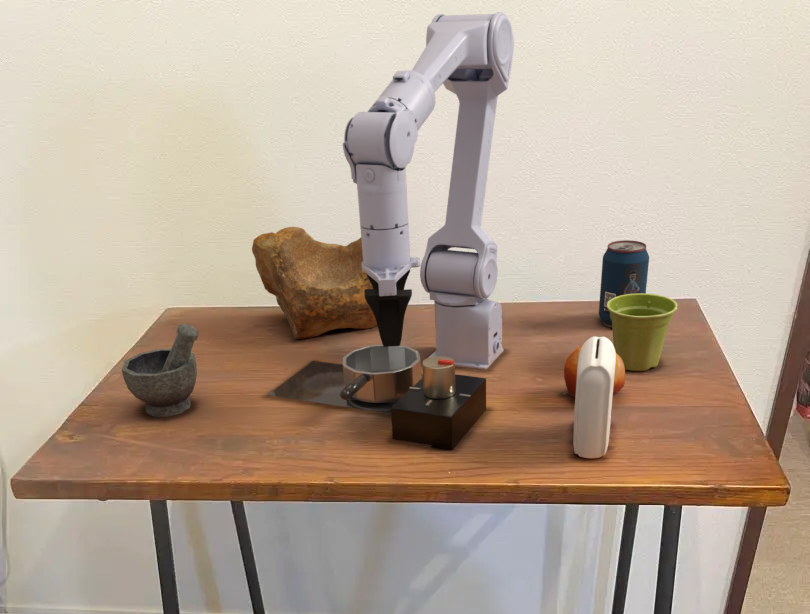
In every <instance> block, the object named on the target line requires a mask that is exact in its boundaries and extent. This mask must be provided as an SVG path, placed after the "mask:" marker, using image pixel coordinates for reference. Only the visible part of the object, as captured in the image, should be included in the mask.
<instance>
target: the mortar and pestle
mask: <svg viewBox="0 0 810 614" xmlns="http://www.w3.org/2000/svg"><path fill="white" fill-rule="evenodd" d="M198 338H199V330H198V329H197V328H196V327H194V326H193V325H191V324H189V323H188V324H187V323H182V324H181V323H180V324H178V326H177V328H176V336H175V339H174V341H173V344H172V346H171V348H164V347H163V348H157V349H151V350H148V351H143V352H140V353H137V354H135V355H133V356H131V357H130V358H128V359H126V360H124V361H123V365H122V367H121V374H122V377H123V380H124V383H125V385H126V387H127V390H128V391H129V392H130V393H131V394H132V395H133V396H134V398H136V399H138V400H139V401H141V402H143V403H145V413H146V414H149V415H150V416H152V417H163V418H164V417H172V416H175V415H179V414H182V413H184V412H185V411H187V410H188V409H190V408H191V404H192V401H191V398H190V395H191V394H192V393H193V391H194V388H195V385H196V381H197V375H198V370H197V369H198V368H197V366H198V365H197V359H196V354H195V353H194V352H192V350H193V347H194V343H195V341H197V339H198Z"/></svg>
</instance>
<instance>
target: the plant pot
mask: <svg viewBox="0 0 810 614" xmlns="http://www.w3.org/2000/svg"><path fill="white" fill-rule="evenodd" d="M607 309H608V310H609V311H610V318H611V320H612V327H611V328H612V329H611V330H612V344H613V346H614V348H615V352H616V353H617V354H618V355H619V356H620V357H621V359H622V361H623V363H624V368H625V371H629V372H644V371H648V370H650V369H651V368H657V366H659V363H660V359H661V355H662V351H663V347H664V343H665V339H666V336H667V333H668V330H669V325H670V322H671V321H672V319H673V316H674V314H675V313H676V312H677V310H678V303H677V301H675V300H674V299H672V298H670V297H667V296H666V295H660V294H654V293H646V294H644V293H641V294H640V293H639V294H626V295H621V296H617V297H615V298H613V299H611V300H609V301H608V303H607Z"/></svg>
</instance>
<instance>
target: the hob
mask: <svg viewBox="0 0 810 614" xmlns="http://www.w3.org/2000/svg"><path fill="white" fill-rule="evenodd" d="M421 378H423V374H421ZM344 388H345V382H344V371H343V363H332V362H325V361H319V360H312V361H310V362H309V363H308V364H307V365H305V366H304V367H302V368H301V369H300V370H299V371H297V372H296V373H295V374H293V375H292V376H290V377H289V378H288V379H287V380H285V381H284V382H282V383H281V384H280V385H278V386H277V387H276V388H275V389H273V390H271V391H270V392H269V393H268V394H267V396H270V397H275V398H282V399H289V400H297V401H301V402H302V401H303V402H308V403H309V402H310V403H317V404H323V405H328V406H329V405H330V406H336V407H343V408H348V409H355V410H363V411H369V412H377V413H382V414H388V415H391V407H392V406H393V405H394V404H391V403H370V402H363V401H360V400H357V399H354V398H349V399H348V400H343V399H342V398H341V397H340V392H341V391H342V390H343V389H344Z"/></svg>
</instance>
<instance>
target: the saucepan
mask: <svg viewBox="0 0 810 614" xmlns="http://www.w3.org/2000/svg"><path fill="white" fill-rule="evenodd" d="M420 355H421V354H420V351H418V350H417V349H415V348H412V347H410V346H408V345H402V344H400V346H391V347H384V346H383V344H382V343H380V344H369V345H366V346H362V347H359V348H356V349H353V350H351V351H349V352H348V353H347V354H345V355H344V356H343V357H342V361H341V362H342V365H343V371H344V382H345V388H344V389H343V390H342V391H341V392H340V397H341V398H342V399H343V400H348V399H349V398H354V399H357V400H360V401H363V402H370V403H391V404H395V403H396V402H397V401H398V400H400V399H401V398H402V397H403V396H404V395H405V394H406V393H407V392H408V391H409V390H410V389H409V388H410V387H413V386H414V385H415V384H416V383H417V382H418V381H419V380H421V379H422V378H421V375H422V360H421V356H420Z"/></svg>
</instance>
